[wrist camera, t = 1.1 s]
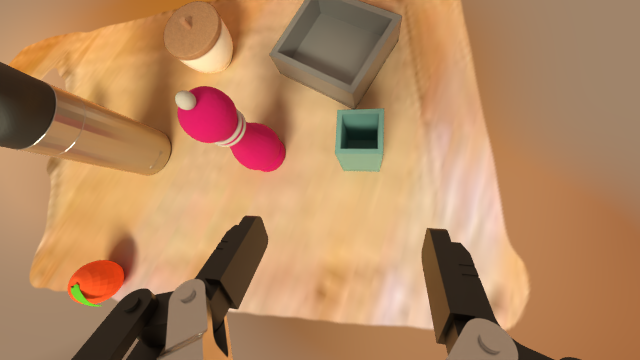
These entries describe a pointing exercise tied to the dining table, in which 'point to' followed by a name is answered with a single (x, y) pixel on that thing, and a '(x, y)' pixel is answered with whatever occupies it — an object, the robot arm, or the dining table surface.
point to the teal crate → (360, 139)
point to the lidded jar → (199, 38)
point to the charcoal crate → (337, 47)
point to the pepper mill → (228, 128)
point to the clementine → (95, 282)
